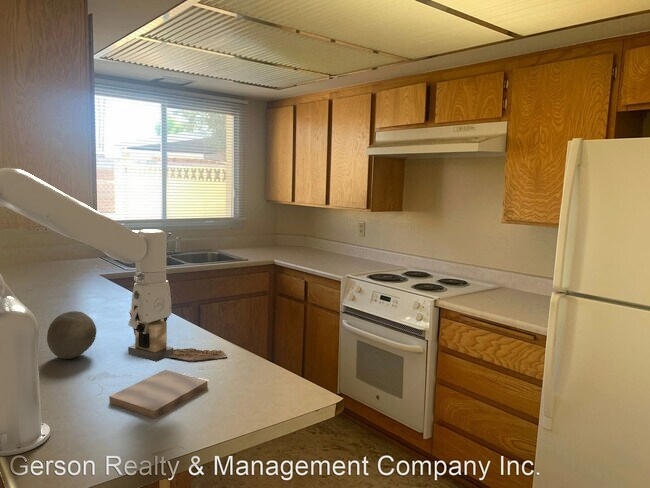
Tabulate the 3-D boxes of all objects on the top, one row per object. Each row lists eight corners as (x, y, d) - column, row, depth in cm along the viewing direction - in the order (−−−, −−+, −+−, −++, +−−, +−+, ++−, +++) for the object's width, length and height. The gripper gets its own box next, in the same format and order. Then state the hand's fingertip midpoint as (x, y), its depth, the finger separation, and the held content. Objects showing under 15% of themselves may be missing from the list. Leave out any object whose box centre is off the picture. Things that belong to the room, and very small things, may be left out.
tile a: (200, 387, 139) (200, 385, 139) (189, 384, 141) (189, 382, 141) (209, 382, 143) (209, 380, 143) (198, 379, 145) (198, 377, 145)
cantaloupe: (48, 369, 147) (46, 321, 145) (47, 353, 159) (45, 309, 157) (99, 361, 155) (97, 315, 152) (94, 346, 167) (92, 304, 164)
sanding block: (156, 361, 124) (156, 327, 122) (128, 354, 128) (128, 321, 127) (173, 354, 129) (173, 322, 128) (145, 347, 133) (145, 316, 132)
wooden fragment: (232, 352, 166) (232, 349, 166) (222, 365, 155) (222, 361, 155) (159, 348, 168) (159, 345, 168) (145, 360, 157) (145, 357, 157)
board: (154, 418, 120) (154, 410, 120) (109, 403, 127) (109, 396, 127) (207, 387, 138) (207, 380, 138) (165, 375, 145) (165, 369, 145)
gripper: (136, 284, 117) (136, 357, 119) (184, 274, 132) (183, 338, 134) (114, 280, 120) (114, 351, 122) (163, 270, 135) (163, 334, 137)
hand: (150, 344), depth 128 cm, fingers closed on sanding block, 4 cm apart
